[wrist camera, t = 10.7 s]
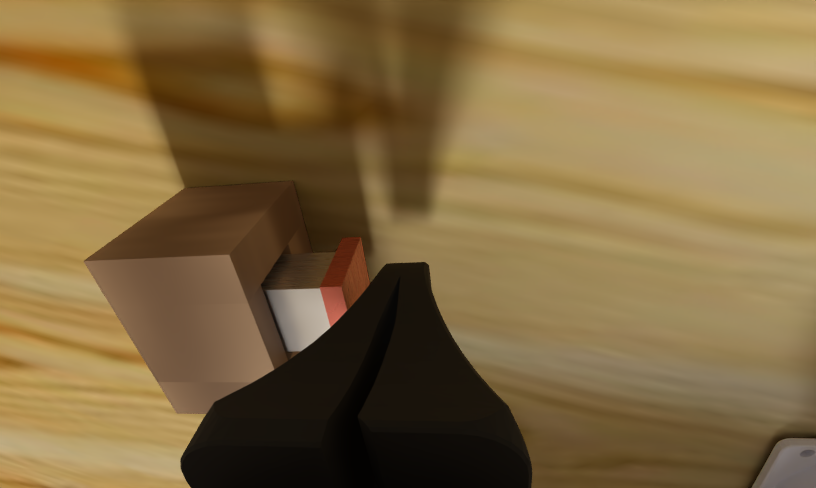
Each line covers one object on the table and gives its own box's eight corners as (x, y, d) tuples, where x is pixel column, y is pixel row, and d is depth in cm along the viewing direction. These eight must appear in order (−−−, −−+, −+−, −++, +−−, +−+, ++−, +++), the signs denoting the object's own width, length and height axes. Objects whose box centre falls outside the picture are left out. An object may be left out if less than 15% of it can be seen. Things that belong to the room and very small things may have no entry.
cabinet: (293, 180, 14) (229, 254, 10) (330, 317, 17) (292, 414, 13) (184, 188, 14) (83, 261, 10) (239, 319, 17) (176, 413, 14)
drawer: (360, 236, 13) (341, 286, 11) (374, 310, 15) (360, 366, 12) (198, 244, 14) (150, 292, 12) (228, 313, 15) (190, 366, 13)
